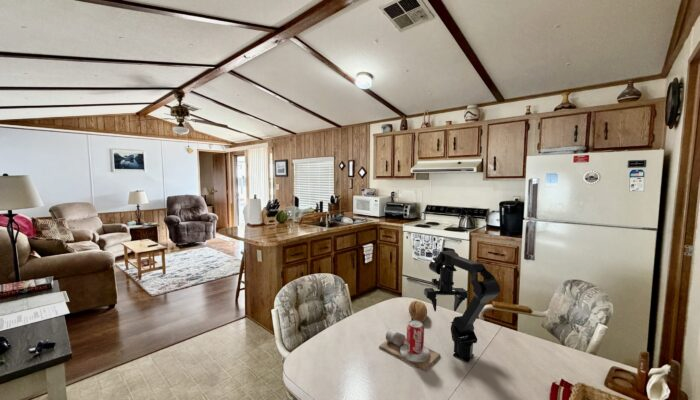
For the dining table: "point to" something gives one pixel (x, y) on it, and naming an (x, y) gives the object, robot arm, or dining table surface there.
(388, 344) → the duct board
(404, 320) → the dining table surface
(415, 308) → the bread roll
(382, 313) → the dining table surface
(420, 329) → the soda can
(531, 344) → the dining table surface
